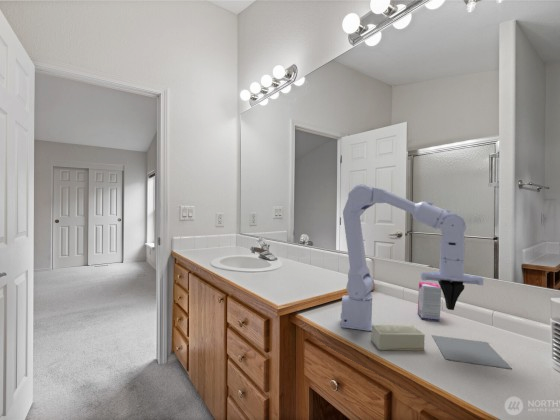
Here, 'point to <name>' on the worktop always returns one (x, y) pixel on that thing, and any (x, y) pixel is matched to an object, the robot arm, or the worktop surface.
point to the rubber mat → (469, 351)
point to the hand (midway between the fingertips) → (450, 308)
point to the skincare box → (397, 337)
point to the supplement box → (429, 301)
